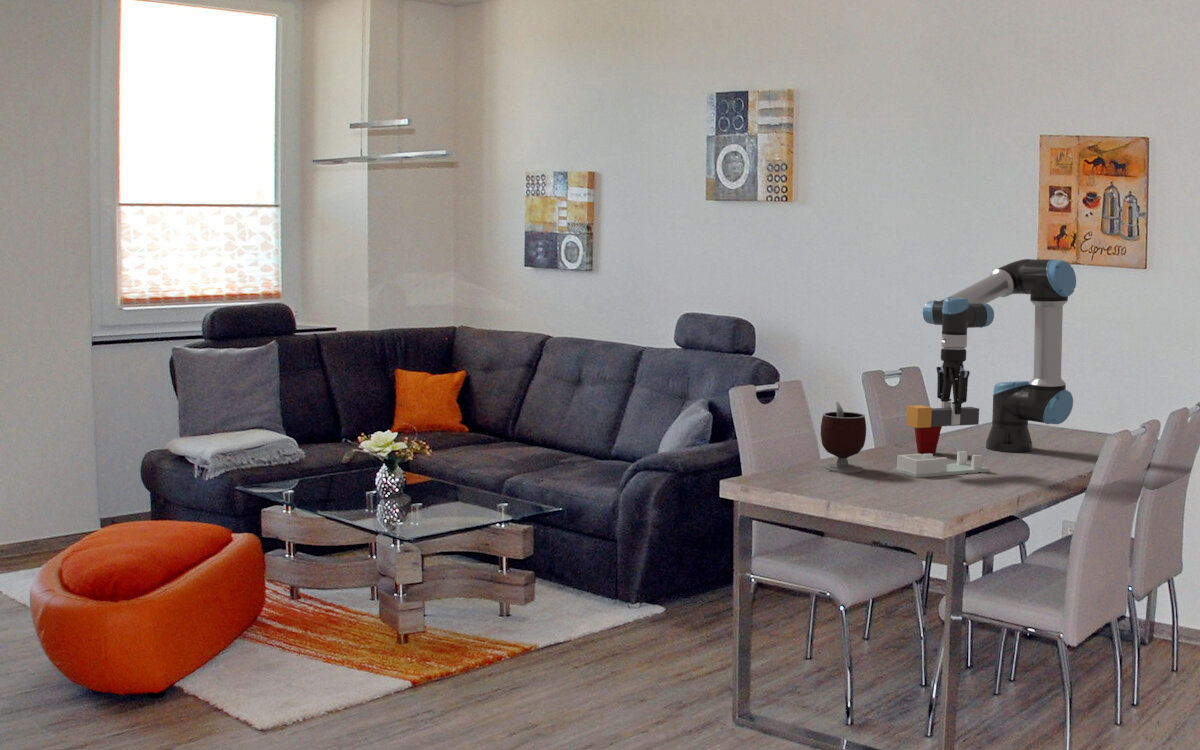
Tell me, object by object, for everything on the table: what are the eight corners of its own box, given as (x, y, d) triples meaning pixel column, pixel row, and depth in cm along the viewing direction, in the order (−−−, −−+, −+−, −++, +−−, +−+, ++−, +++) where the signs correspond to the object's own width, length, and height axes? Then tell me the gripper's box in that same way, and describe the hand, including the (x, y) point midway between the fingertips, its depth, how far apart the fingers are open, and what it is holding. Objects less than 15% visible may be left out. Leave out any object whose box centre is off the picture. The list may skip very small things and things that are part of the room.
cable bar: (968, 422, 394) (969, 403, 393) (980, 424, 388) (981, 405, 388) (906, 425, 385) (907, 405, 385) (917, 427, 380) (918, 408, 380)
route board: (967, 465, 398) (967, 449, 397) (989, 471, 388) (990, 455, 387) (895, 470, 388) (895, 455, 388) (916, 477, 378) (916, 461, 377)
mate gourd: (870, 473, 384) (872, 408, 382) (825, 473, 383) (827, 408, 381) (856, 463, 400) (858, 401, 398) (813, 464, 399) (815, 401, 397)
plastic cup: (932, 457, 412) (934, 421, 411) (904, 452, 420) (905, 417, 418) (950, 453, 420) (951, 417, 418) (921, 449, 427) (922, 414, 426)
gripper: (926, 346, 392) (924, 420, 394) (960, 351, 376) (957, 428, 379) (946, 345, 394) (944, 419, 397) (981, 350, 379) (978, 427, 381)
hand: (950, 423), depth 388 cm, fingers closed on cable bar, 4 cm apart
